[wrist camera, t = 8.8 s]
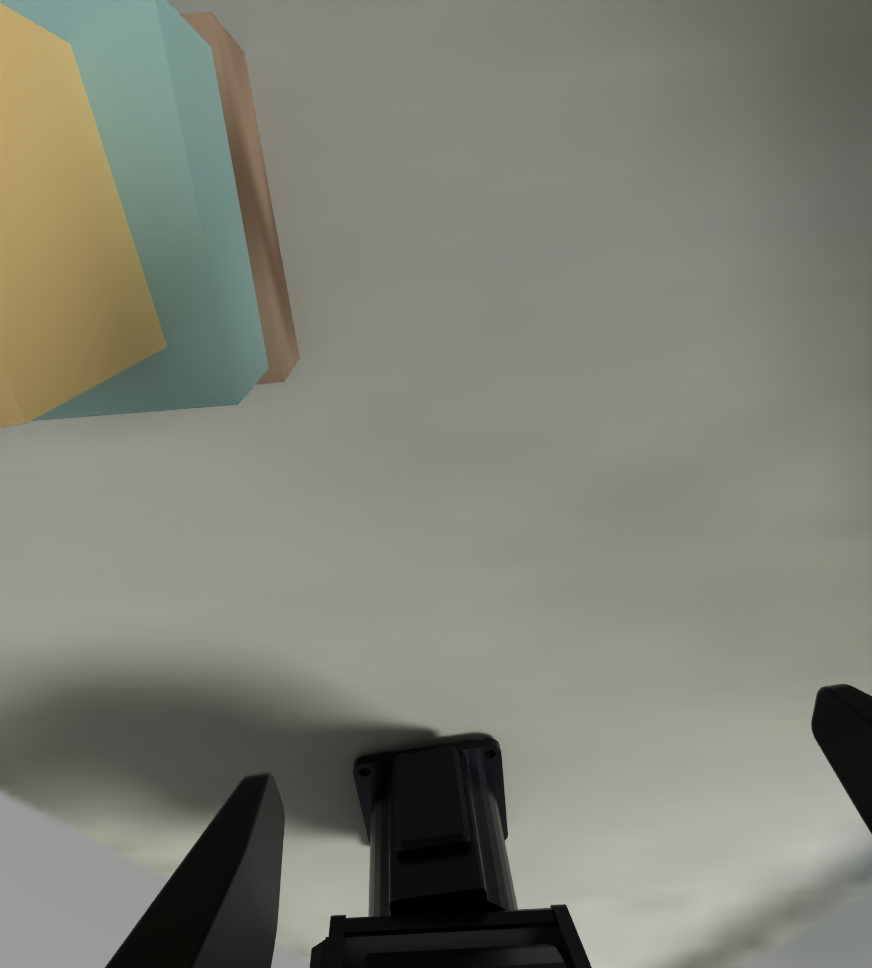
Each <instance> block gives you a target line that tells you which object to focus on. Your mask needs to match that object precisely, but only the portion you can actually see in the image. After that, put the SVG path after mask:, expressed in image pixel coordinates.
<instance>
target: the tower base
mask: <svg viewBox="0 0 872 968" xmlns="http://www.w3.org/2000/svg"><path fill="white" fill-rule="evenodd" d="M181 16H182V17H183V18H184V19H185V20H186V21H187V22H188V23H189V24H190V25H191V26H192V27H193V29H194V30H195V31H196V32H197V33H198V34H199V35H200V36H201V37H202V38H203V39H204V40H205V41H206V42H207V43H208V44H209V45H210V46H211V48H212V54H213V59H214V65H215V71H216V76H217V82H218V87H219V93H220V98H221V104H222V110H223V115H224V121H225V126H226V132H227V137H228V143H229V149H230V154H231V160H232V165H233V171H234V176H235V182H236V188H237V193H238V199H239V204H240V210H241V215H242V221H243V227H244V232H245V238H246V243H247V249H248V255H249V260H250V266H251V271H252V277H253V282H254V288H255V294H256V299H257V305H258V310H259V316H260V322H261V327H262V333H263V338H264V344H265V349H266V355H267V361H268V366H269V368H268V370H267V371H266V372H265V373H264V374H263V376H262V377H261V378H260V379H259V380H258V382H257V383H256V384H265V383H275V382H284V381H285V380H286V378H287V377H288V375H289V374H290V372H291V371H292V369H293V368H294V366H295V365H296V363H297V362H298V360H299V352H298V347H297V341H296V336H295V330H294V324H293V319H292V313H291V308H290V302H289V297H288V291H287V286H286V280H285V275H284V269H283V264H282V258H281V253H280V247H279V242H278V236H277V231H276V225H275V220H274V214H273V209H272V203H271V198H270V192H269V187H268V181H267V176H266V170H265V165H264V159H263V154H262V148H261V143H260V137H259V132H258V126H257V121H256V115H255V110H254V104H253V99H252V93H251V88H250V82H249V77H248V71H247V66H246V60H245V55H244V51H243V50H242V49H241V48H240V46H239V45H238V44H237V43H236V41H235V40H234V39H233V38H232V36H231V35H230V34H229V33H228V31H227V30H226V29H225V28H224V26H223V25H222V24H221V23H220V21H219V20H218V19H217V18H216V16H215V15H214V14H213V13H212V12H207V13H194V14H181Z"/></svg>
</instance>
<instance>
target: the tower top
mask: <svg viewBox="0 0 872 968" xmlns="http://www.w3.org/2000/svg"><path fill="white" fill-rule="evenodd" d="M0 3H1V4H3V5H5V6H7V7H8V8H10V9H12V10H13V11H15V12H17V13H18V14H20V15H22V16H24V17H25V18H27V19H29V20H30V21H32V22H34V23H35V24H37V25H39V26H41V27H42V28H44V29H46V30H47V31H49V32H51V33H53V34H54V35H56V36H58V37H59V38H61V39H63V40H64V41H66V42H68V43H70V45H71V48H72V51H73V54H74V57H75V60H76V63H77V67H78V70H79V73H80V76H81V79H82V82H83V85H84V88H85V92H86V95H87V98H88V101H89V104H90V107H91V110H92V113H93V117H94V120H95V123H96V126H97V129H98V132H99V135H100V138H101V142H102V145H103V148H104V151H105V154H106V157H107V160H108V163H109V167H110V170H111V173H112V176H113V179H114V182H115V185H116V188H117V192H118V195H119V198H120V201H121V204H122V207H123V210H124V213H125V216H126V220H127V223H128V226H129V229H130V232H131V235H132V238H133V241H134V245H135V248H136V251H137V254H138V257H139V260H140V263H141V266H142V270H143V273H144V276H145V279H146V282H147V285H148V288H149V291H150V295H151V298H152V301H153V304H154V307H155V310H156V313H157V316H158V320H159V323H160V326H161V329H162V332H163V335H164V338H165V341H166V345H167V347H166V348H164V349H162V350H161V351H159V352H157V353H155V354H153V355H151V356H150V357H148V358H146V359H144V360H142V361H140V362H139V363H137V364H135V365H133V366H131V367H129V368H127V369H126V370H124V371H122V372H120V373H118V374H116V375H115V376H113V377H111V378H109V379H107V380H105V381H104V382H102V383H100V384H98V385H96V386H94V387H92V388H91V389H89V390H87V391H85V392H83V393H81V394H80V395H78V396H76V397H74V398H72V399H70V400H69V401H67V402H65V403H63V404H61V405H59V406H58V407H56V408H54V409H52V410H50V411H48V412H46V413H45V414H43V415H41V416H39V417H37V418H35V419H34V420H32V421H36V420H49V419H61V418H74V417H87V416H99V415H112V414H125V413H137V412H150V411H163V410H175V409H188V408H201V407H213V406H226V405H238V404H239V403H240V402H241V401H242V399H243V398H244V397H245V396H246V395H247V393H248V392H249V391H250V390H251V389H252V388H253V386H254V385H255V384H256V383H257V382H258V380H259V379H260V378H261V377H262V376H263V374H264V373H265V372H266V371H267V370H268V368H269V366H268V361H267V355H266V349H265V344H264V338H263V333H262V327H261V322H260V316H259V310H258V305H257V299H256V294H255V288H254V282H253V277H252V271H251V266H250V260H249V255H248V249H247V243H246V238H245V232H244V227H243V221H242V215H241V210H240V204H239V199H238V193H237V188H236V182H235V176H234V171H233V165H232V160H231V154H230V149H229V143H228V137H227V132H226V126H225V121H224V115H223V110H222V104H221V98H220V93H219V87H218V82H217V76H216V71H215V65H214V59H213V54H212V48H211V46H210V45H209V44H208V43H207V42H206V41H205V40H204V39H203V38H202V37H201V36H200V35H199V34H198V33H197V32H196V31H195V30H194V29H193V27H192V26H191V25H190V24H189V23H188V22H187V21H186V20H185V19H184V18H183V17H182V16H181V15H180V14H179V13H178V12H177V11H176V10H175V9H174V8H173V7H172V6H171V4H170V3H169V2H168V1H167V0H0Z"/></svg>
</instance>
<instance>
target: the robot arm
mask: <svg viewBox="0 0 872 968" xmlns="http://www.w3.org/2000/svg"><path fill="white" fill-rule="evenodd" d="M811 726H812V732H813V735H814V737H815V739H816V741H817V743H818V745H819V746H820V748H821V750H822V751H823V753H824V755H825V756H826V758H827V760H828V762H829V763H830V765H831V767H832V768H833V770H834V772H835V773H836V775H837V777H838V778H839V780H840V782H841V784H842V785H843V787H844V789H845V790H846V792H847V794H848V795H849V797H850V799H851V801H852V802H853V804H854V806H855V807H856V809H857V811H858V812H859V814H860V816H861V818H862V819H863V821H864V822H865V824H866V826H867V827H868V829H869V830H870V832H871V833H872V696H870V695H868V694H866V693H864V692H862V691H860V690H859V689H857V688H855V687H852V686H850V685H847V684H838V685H831V686H825V687H822V688H820V689H819V691H818V692H817V696H816V701H815V706H814V711H813V716H812V722H811ZM488 750H490V751H488ZM364 768H366V769H364ZM353 775H354V779H355V783H356V788H357V792H358V796H359V800H360V805H361V809H362V813H363V818H364V822H365V826H366V830H367V835H368V839H369V843H370V878H369V917H356V918H346V915H334V916H331V919H330V929H329V937H326V939H325V940H323V941H322V942H321V943H319V944H318V945H316V946H315V947H313V948H312V951H311V961H310V968H592V967H591V965H590V962H589V960H588V958H587V955H586V953H585V950H584V948H583V945H582V943H581V940H580V938H579V935H578V933H577V930H576V928H575V926H574V923H573V921H572V918H571V916H570V913H569V911H568V908H567V906H566V905H565V904H564V905H551V907H550V908H542V909H521V910H518V908H517V903H516V897H515V892H514V887H513V882H512V877H511V872H510V866H509V861H508V856H507V851H506V846H505V840H506V839H507V837H508V831H507V819H506V806H505V794H504V781H503V769H502V757H501V750H500V745H499V742H498V741H496V740H495V739H482V740H475V741H468V742H460V743H453V744H446V745H439V746H432V747H425V748H418V749H411V750H404V751H397V752H390V753H383V754H376V755H369V756H363V757H359V758H358V759H356V760H355V762H354V770H353ZM284 821H285V817H284V807H283V803H282V800H281V797H280V794H279V791H278V788H277V785H276V782H275V779H274V777H273V775H272V774H271V773H270V772H264V773H257V774H251V775H247V776H246V777H244V778H243V779H242V780H241V782H240V783H239V784H238V786H237V787H236V788H235V790H234V791H233V793H232V794H231V795H230V797H229V798H228V799H227V801H226V802H225V803H224V805H223V806H222V808H221V809H220V810H219V812H218V813H217V814H216V816H215V817H214V819H213V820H212V821H211V823H210V824H209V825H208V827H207V828H206V830H205V831H204V832H203V834H202V835H201V836H200V838H199V839H198V841H197V842H196V843H195V845H194V846H193V847H192V849H191V850H190V852H189V853H188V854H187V856H186V857H185V858H184V860H183V861H182V863H181V864H180V865H179V867H178V868H177V869H176V871H175V872H174V873H173V875H172V876H171V878H170V879H169V880H168V882H167V883H166V884H165V886H164V887H163V889H162V890H161V891H160V893H159V894H158V895H157V897H156V898H155V900H154V901H153V902H152V904H151V905H150V907H149V908H148V909H147V911H146V912H145V914H144V915H143V916H142V917H141V919H140V920H139V922H138V923H137V924H136V926H135V927H134V928H133V930H132V931H131V933H130V934H129V935H128V937H127V938H126V940H125V941H124V942H123V944H122V945H121V946H120V948H119V949H118V950H117V952H116V953H115V954H114V956H113V957H112V959H111V960H110V961H109V963H108V964H107V965H106V967H105V968H271V962H272V957H273V951H274V945H275V938H276V931H277V921H278V909H279V895H280V880H281V866H282V851H283V837H284Z"/></svg>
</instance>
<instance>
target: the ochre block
mask: <svg viewBox="0 0 872 968" xmlns="http://www.w3.org/2000/svg"><path fill="white" fill-rule="evenodd" d="M166 347H167V345H166V341H165V338H164V335H163V332H162V329H161V326H160V323H159V320H158V316H157V313H156V310H155V307H154V304H153V301H152V298H151V295H150V291H149V288H148V285H147V282H146V279H145V276H144V273H143V270H142V266H141V263H140V260H139V257H138V254H137V251H136V248H135V245H134V241H133V238H132V235H131V232H130V229H129V226H128V223H127V220H126V216H125V213H124V210H123V207H122V204H121V201H120V198H119V195H118V192H117V188H116V185H115V182H114V179H113V176H112V173H111V170H110V167H109V163H108V160H107V157H106V154H105V151H104V148H103V145H102V142H101V138H100V135H99V132H98V129H97V126H96V123H95V120H94V117H93V113H92V110H91V107H90V104H89V101H88V98H87V95H86V92H85V88H84V85H83V82H82V79H81V76H80V73H79V70H78V67H77V63H76V60H75V57H74V54H73V51H72V48H71V45H70V43H68V42H66V41H64V40H63V39H61V38H59V37H58V36H56V35H54V34H53V33H51V32H49V31H47V30H46V29H44V28H42V27H41V26H39V25H37V24H35V23H34V22H32V21H30V20H29V19H27V18H25V17H24V16H22V15H20V14H18V13H17V12H15V11H13V10H12V9H10V8H8V7H7V6H5V5H3V4H1V3H0V427H6V426H13V425H20V424H26V423H28V422H30V421H32V420H34V419H35V418H37V417H39V416H41V415H43V414H45V413H46V412H48V411H50V410H52V409H54V408H56V407H58V406H59V405H61V404H63V403H65V402H67V401H69V400H70V399H72V398H74V397H76V396H78V395H80V394H81V393H83V392H85V391H87V390H89V389H91V388H92V387H94V386H96V385H98V384H100V383H102V382H104V381H105V380H107V379H109V378H111V377H113V376H115V375H116V374H118V373H120V372H122V371H124V370H126V369H127V368H129V367H131V366H133V365H135V364H137V363H139V362H140V361H142V360H144V359H146V358H148V357H150V356H151V355H153V354H155V353H157V352H159V351H161V350H162V349H164V348H166Z"/></svg>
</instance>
